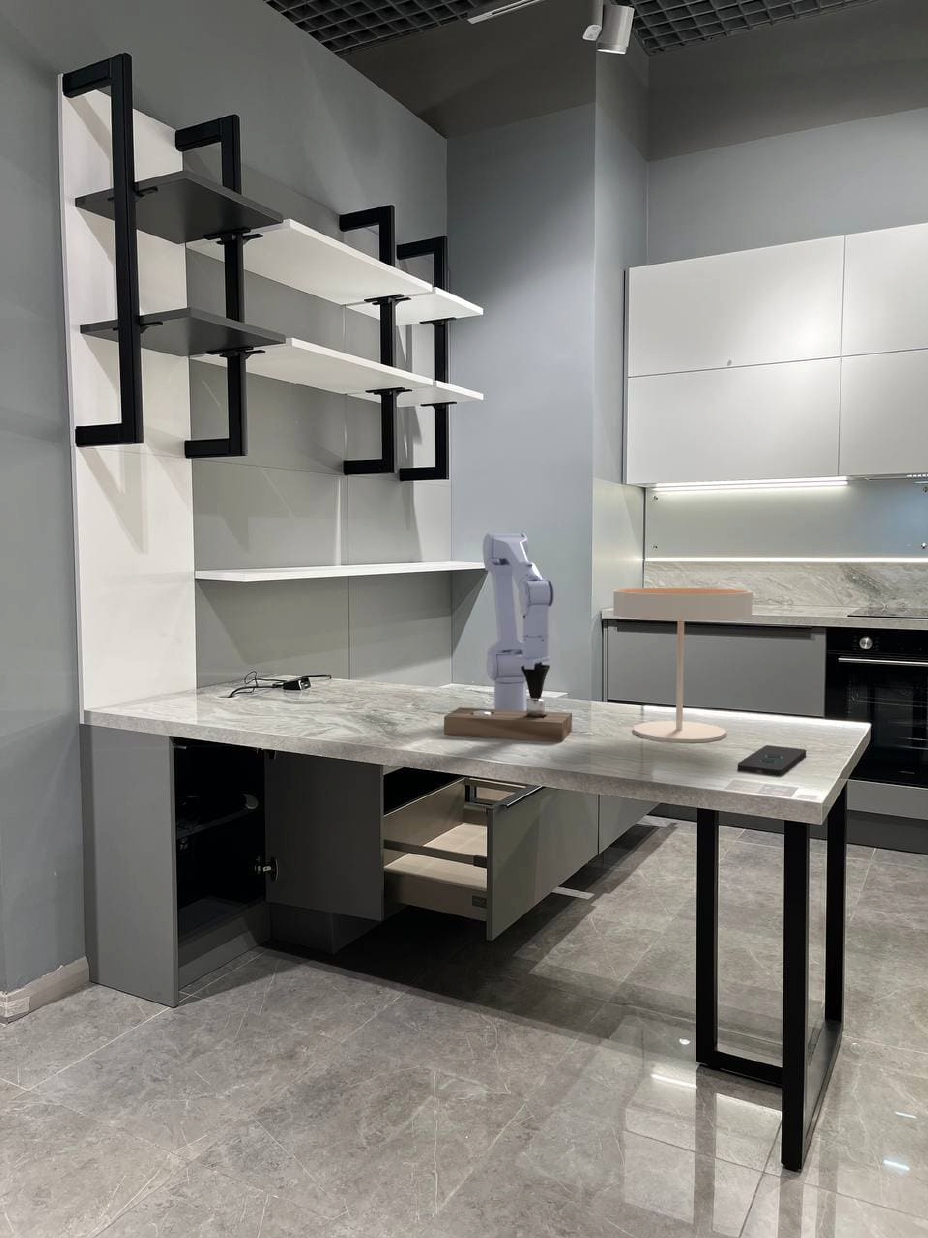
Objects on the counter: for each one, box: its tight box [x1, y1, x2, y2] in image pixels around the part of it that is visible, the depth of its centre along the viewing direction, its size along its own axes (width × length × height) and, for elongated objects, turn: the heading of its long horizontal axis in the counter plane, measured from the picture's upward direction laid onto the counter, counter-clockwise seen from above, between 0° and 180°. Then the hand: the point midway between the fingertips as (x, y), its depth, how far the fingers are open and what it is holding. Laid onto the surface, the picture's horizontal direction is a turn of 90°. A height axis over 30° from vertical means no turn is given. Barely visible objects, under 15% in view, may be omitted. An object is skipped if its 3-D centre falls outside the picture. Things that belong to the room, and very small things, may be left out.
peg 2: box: [526, 697, 546, 718], centre depth 205 cm, size 4×4×4 cm
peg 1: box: [473, 711, 491, 716], centre depth 208 cm, size 4×4×4 cm
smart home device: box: [737, 744, 807, 777], centre depth 178 cm, size 8×2×20 cm
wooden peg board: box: [443, 706, 573, 742], centre depth 207 cm, size 12×26×4 cm, turn 74°
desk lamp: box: [612, 587, 754, 743], centre depth 205 cm, size 30×30×31 cm
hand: (535, 698), depth 204 cm, fingers closed
